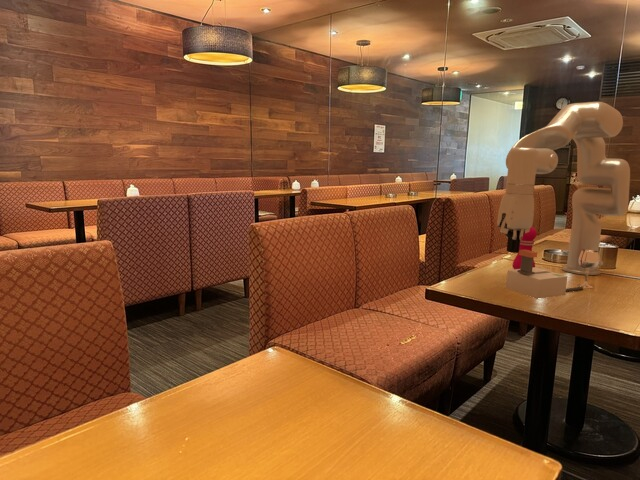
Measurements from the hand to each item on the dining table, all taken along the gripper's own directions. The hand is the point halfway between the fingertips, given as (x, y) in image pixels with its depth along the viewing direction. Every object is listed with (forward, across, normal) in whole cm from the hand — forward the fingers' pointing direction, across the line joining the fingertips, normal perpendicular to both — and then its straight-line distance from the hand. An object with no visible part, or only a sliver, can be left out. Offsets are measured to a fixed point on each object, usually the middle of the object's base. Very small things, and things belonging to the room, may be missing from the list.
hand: (512, 252), depth 134 cm
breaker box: (+13, -17, 0) cm, 21 cm away
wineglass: (+13, -34, +1) cm, 36 cm away
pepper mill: (+13, -22, -14) cm, 29 cm away
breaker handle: (+7, -7, 0) cm, 10 cm away
